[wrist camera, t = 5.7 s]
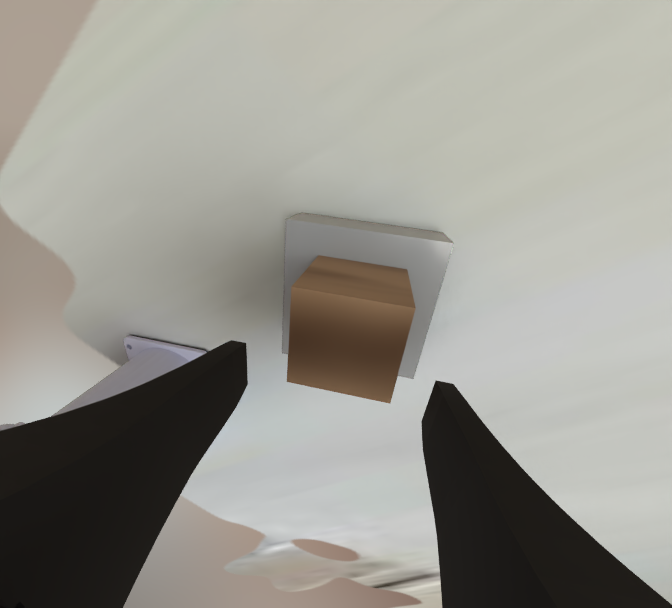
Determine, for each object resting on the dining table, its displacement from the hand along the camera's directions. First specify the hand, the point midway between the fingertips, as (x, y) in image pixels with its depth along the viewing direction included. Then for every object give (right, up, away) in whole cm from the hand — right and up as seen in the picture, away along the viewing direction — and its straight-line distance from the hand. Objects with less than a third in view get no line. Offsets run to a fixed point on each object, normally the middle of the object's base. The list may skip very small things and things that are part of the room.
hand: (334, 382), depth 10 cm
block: (+1, +3, +6) cm, 7 cm away
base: (+2, +4, +9) cm, 10 cm away
